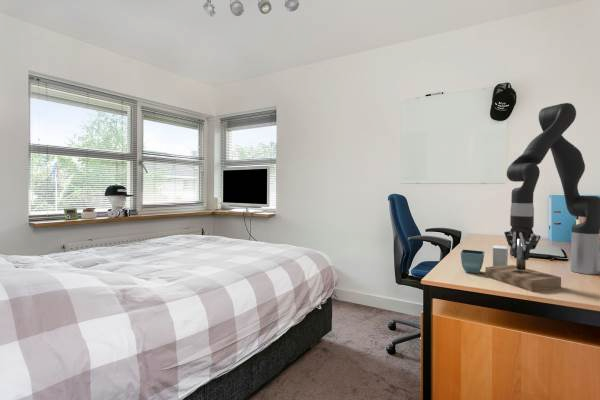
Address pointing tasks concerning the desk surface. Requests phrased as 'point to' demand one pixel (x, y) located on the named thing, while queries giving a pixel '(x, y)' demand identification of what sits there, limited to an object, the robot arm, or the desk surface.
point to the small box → (500, 255)
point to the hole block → (523, 278)
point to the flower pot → (472, 260)
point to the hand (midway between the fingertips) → (521, 258)
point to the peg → (520, 257)
